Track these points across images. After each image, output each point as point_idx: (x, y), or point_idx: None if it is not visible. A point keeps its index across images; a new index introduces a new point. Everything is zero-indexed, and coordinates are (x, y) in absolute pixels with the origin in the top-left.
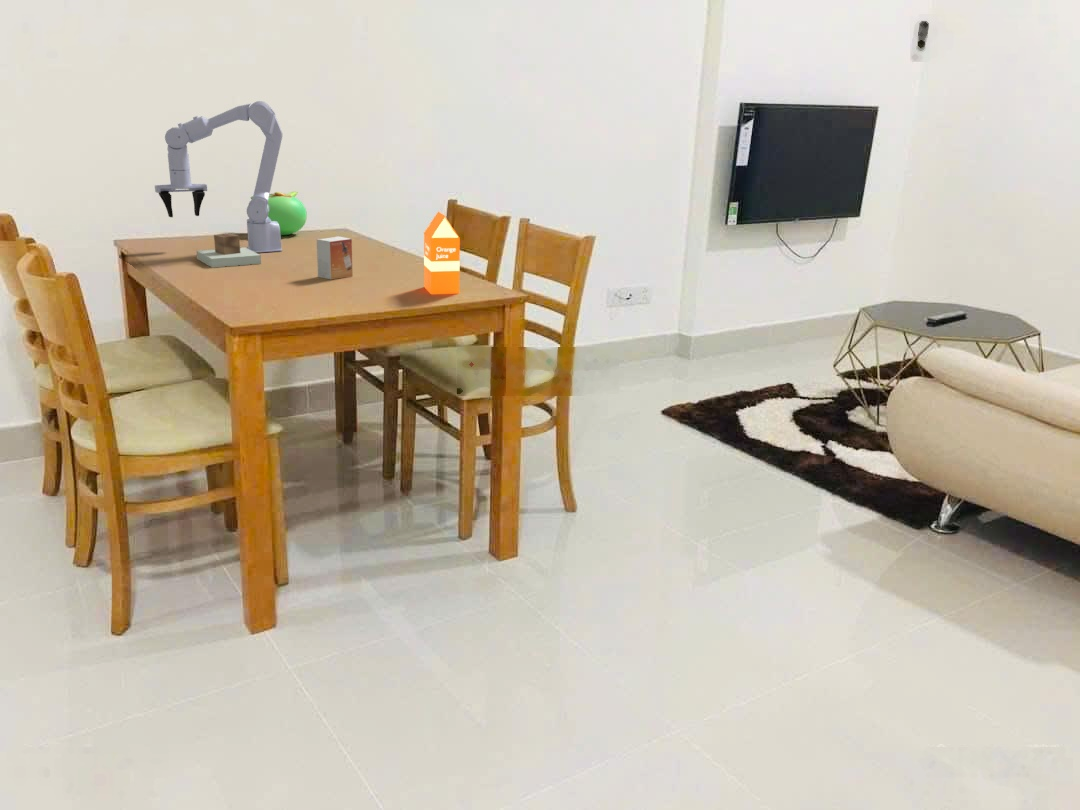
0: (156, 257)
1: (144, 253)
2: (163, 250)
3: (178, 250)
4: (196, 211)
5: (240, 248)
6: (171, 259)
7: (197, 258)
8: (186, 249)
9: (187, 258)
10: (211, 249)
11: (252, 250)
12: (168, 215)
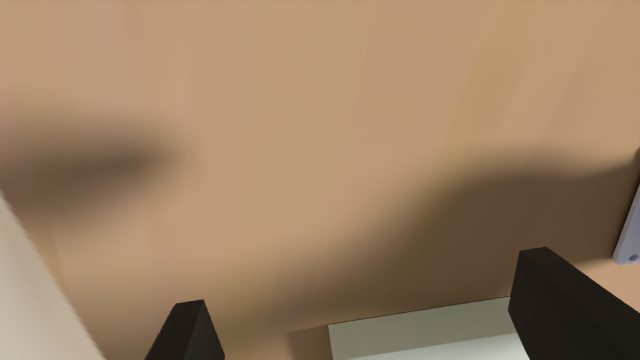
0: (129, 268)
1: (29, 146)
2: (153, 61)
3: (262, 87)
4: (538, 356)
5: None
6: None
7: (328, 328)
8: (323, 60)
9: (286, 308)
10: (407, 350)
11: (635, 240)
12: (169, 316)
